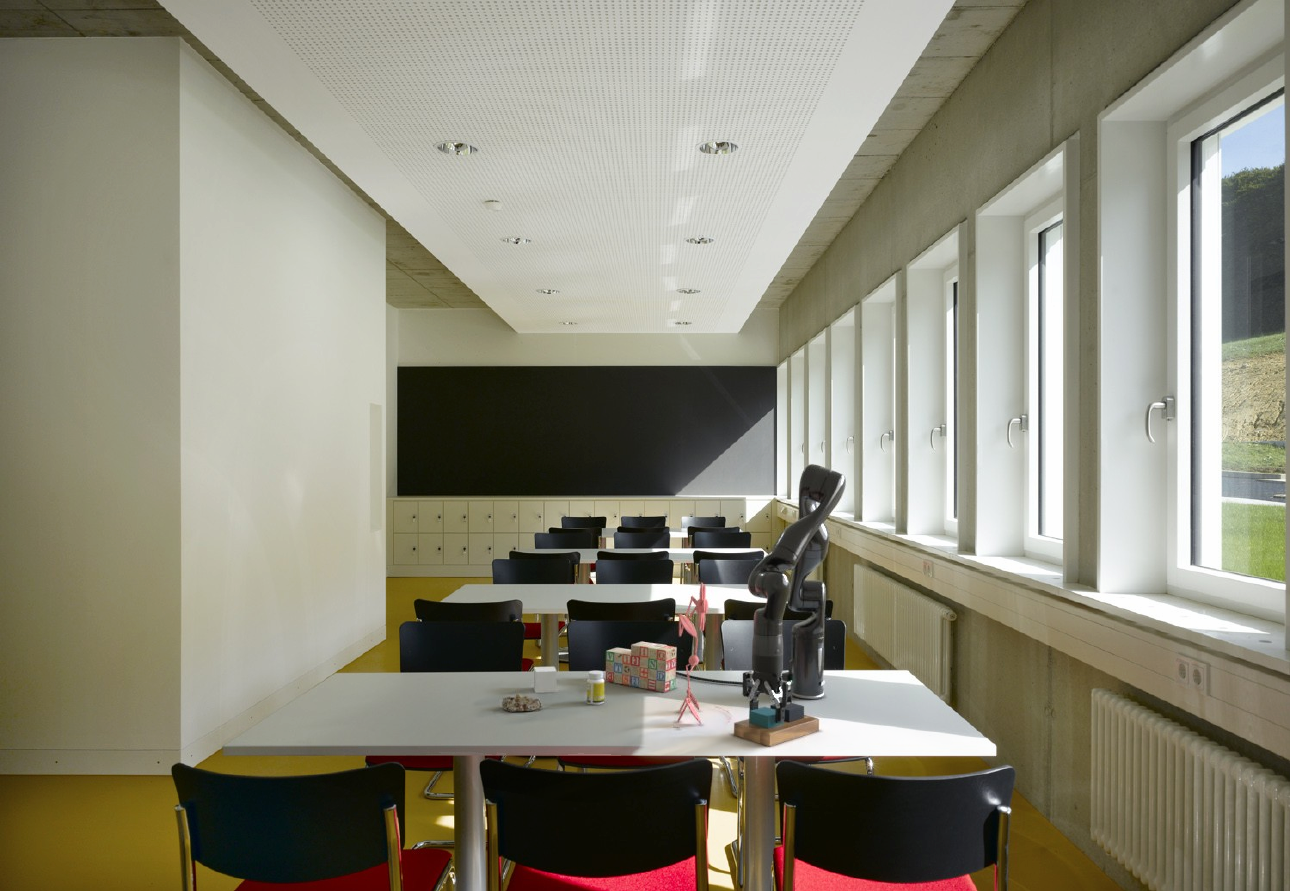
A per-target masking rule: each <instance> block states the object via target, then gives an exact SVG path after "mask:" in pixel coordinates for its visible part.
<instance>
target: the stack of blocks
mask: <svg viewBox="0 0 1290 891" xmlns="http://www.w3.org/2000/svg"><path fill="white" fill-rule="evenodd" d="M676 672H677V646H671V645H667V644H664V643H663V644H662V643H653V642H647V641H646V642H645V641H639V642H636V643H632V644H631V645H630V649H629V648H623V647H614V648H611V649H608V650H606V651H605V682H610V683H614V684H620V685H625V686H631V687H635V688H641V689H647V690H649V691H650V690H651V691H655V692H656V691H657V692H661V693H667V692H670V691H672V690H674V689H676V681H677V680H676V679H677V678H676Z"/></svg>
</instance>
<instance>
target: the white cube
mask: <svg viewBox="0 0 1290 891" xmlns="http://www.w3.org/2000/svg"><path fill="white" fill-rule="evenodd" d="M557 673H558V672H557V668H556V667H555V666H534V667H533V690H534V693H535V694H541V693H542V694H543V693H545V694H546V693H557V676H558V675H557Z"/></svg>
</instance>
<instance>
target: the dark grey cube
mask: <svg viewBox="0 0 1290 891" xmlns="http://www.w3.org/2000/svg"><path fill="white" fill-rule="evenodd" d="M769 708H771V709H775V708H777V707H776V705H775V703H773V704H770V706H769ZM804 715H805V706H804V705H803V704H802V705H801V704H797V703H794V702H792V705H791V706H787V707H785V716H784V717H785V719H784V721H785V722H789V723H790V722H793V721H796V720H799V719H803V718H804Z"/></svg>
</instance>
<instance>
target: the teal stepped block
mask: <svg viewBox="0 0 1290 891" xmlns="http://www.w3.org/2000/svg"><path fill="white" fill-rule="evenodd" d="M748 719H749V723H750V724H753V725H757V726H760V727H763V728H767V729H770V728H773V727H776V726H780V725H783V724H784V721H783V722H782V723H780V724H777V723H775V709H771V708H770V707H767V706H763V707H758V709H755V710H751V711H748Z"/></svg>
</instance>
